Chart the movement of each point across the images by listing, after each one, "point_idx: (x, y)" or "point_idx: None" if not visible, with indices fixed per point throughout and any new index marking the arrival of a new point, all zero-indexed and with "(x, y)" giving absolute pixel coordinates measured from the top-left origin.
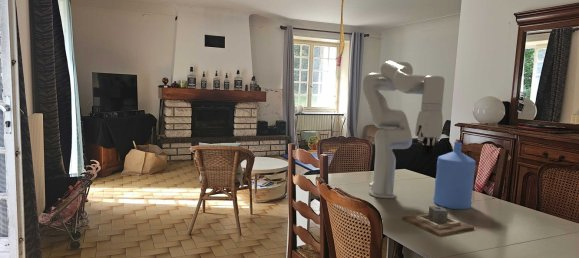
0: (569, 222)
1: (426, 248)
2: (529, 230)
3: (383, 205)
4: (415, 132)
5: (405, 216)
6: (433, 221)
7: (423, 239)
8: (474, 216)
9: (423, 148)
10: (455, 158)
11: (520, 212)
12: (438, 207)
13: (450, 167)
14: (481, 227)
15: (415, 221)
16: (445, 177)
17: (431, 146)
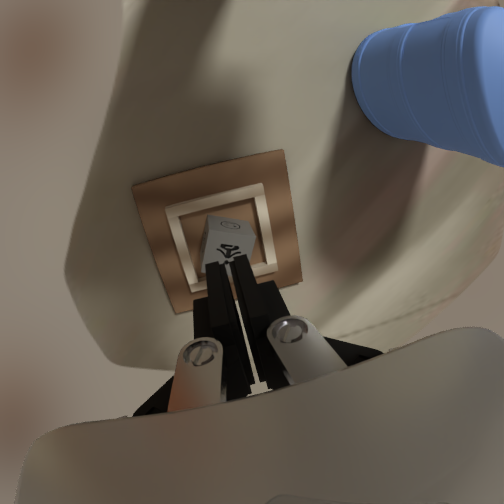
0: (497, 251)
1: (115, 353)
2: (412, 285)
3: (138, 47)
4: (23, 482)
5: (140, 188)
6: (200, 253)
7: (127, 320)
8: (382, 190)
9: (194, 323)
10: None
11: (486, 188)
12: (236, 243)
13: (461, 117)
14: (332, 265)
15: (151, 233)
16: (420, 93)
17: (265, 379)
